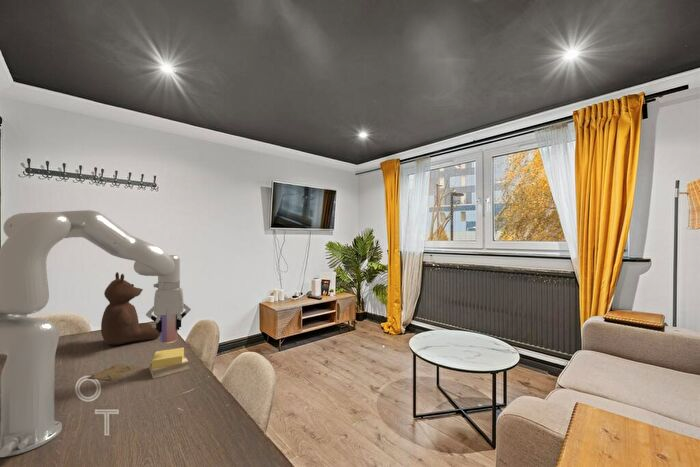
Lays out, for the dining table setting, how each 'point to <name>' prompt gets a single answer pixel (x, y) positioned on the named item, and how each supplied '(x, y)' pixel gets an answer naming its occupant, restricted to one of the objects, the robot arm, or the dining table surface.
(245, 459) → the dining table surface
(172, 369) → the tower base
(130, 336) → the stuffed bear
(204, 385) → the dining table surface
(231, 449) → the dining table surface
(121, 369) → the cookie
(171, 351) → the tower top
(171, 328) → the beverage can
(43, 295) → the robot arm
